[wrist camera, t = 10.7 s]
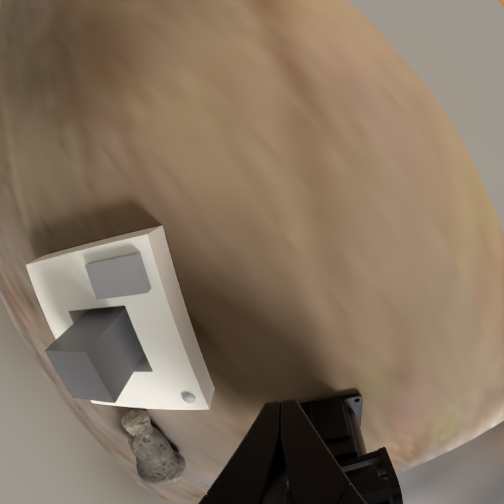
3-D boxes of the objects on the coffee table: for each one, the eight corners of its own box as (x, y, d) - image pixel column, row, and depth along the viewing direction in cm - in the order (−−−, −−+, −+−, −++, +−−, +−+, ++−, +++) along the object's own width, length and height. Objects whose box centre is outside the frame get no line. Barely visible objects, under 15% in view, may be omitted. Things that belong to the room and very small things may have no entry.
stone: (127, 393, 25) (89, 443, 21) (144, 419, 20) (101, 474, 17) (192, 429, 29) (157, 472, 26) (216, 452, 25) (177, 499, 22)
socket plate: (214, 388, 22) (208, 415, 19) (102, 387, 23) (89, 407, 20) (162, 225, 18) (142, 237, 15) (44, 255, 20) (20, 267, 17)
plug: (150, 343, 21) (115, 403, 14) (112, 345, 22) (72, 397, 15) (133, 299, 20) (86, 352, 13) (94, 304, 21) (44, 350, 14)
